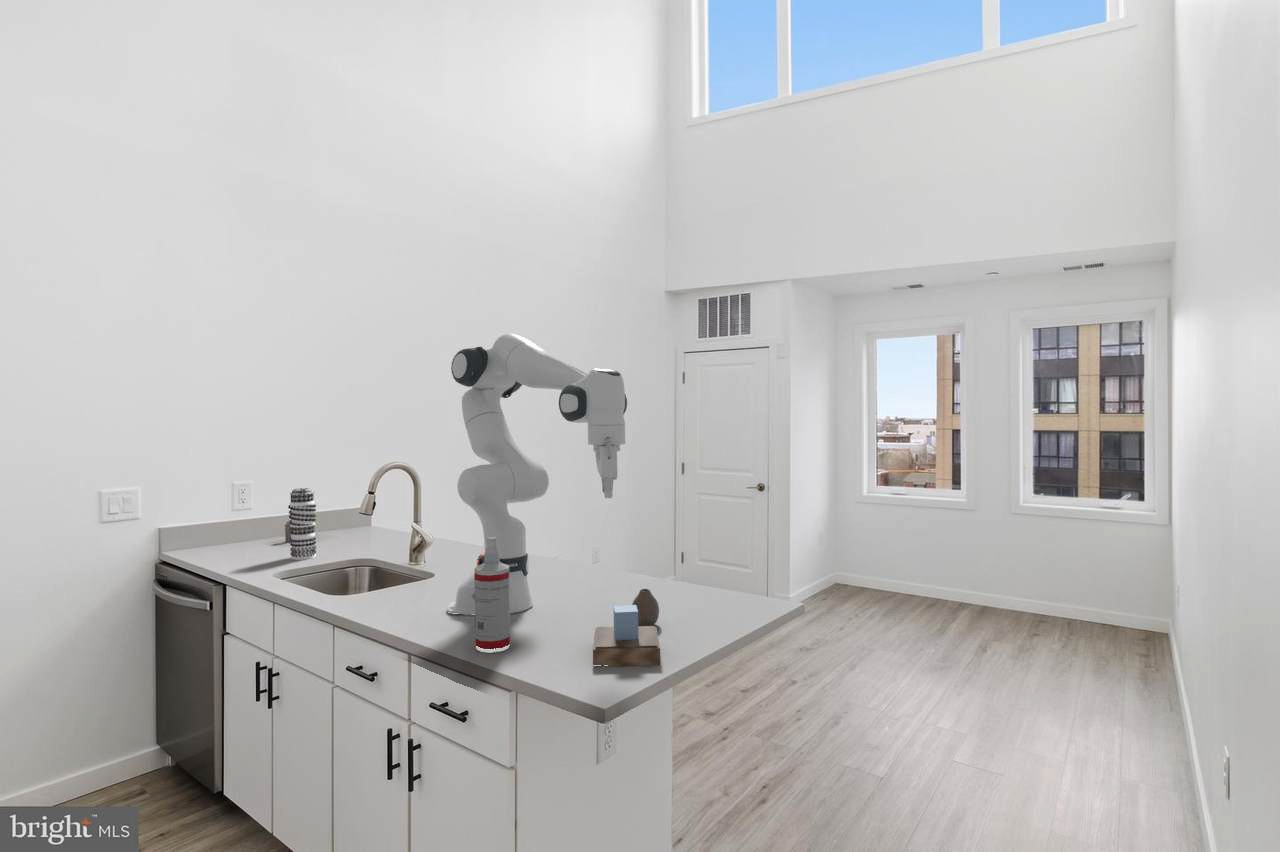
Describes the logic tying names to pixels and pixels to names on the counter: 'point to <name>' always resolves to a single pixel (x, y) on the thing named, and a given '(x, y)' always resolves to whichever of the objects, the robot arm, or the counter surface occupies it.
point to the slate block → (625, 622)
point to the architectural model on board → (289, 532)
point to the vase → (646, 608)
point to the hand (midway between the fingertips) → (607, 495)
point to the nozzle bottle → (492, 600)
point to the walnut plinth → (626, 648)
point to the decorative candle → (302, 524)
